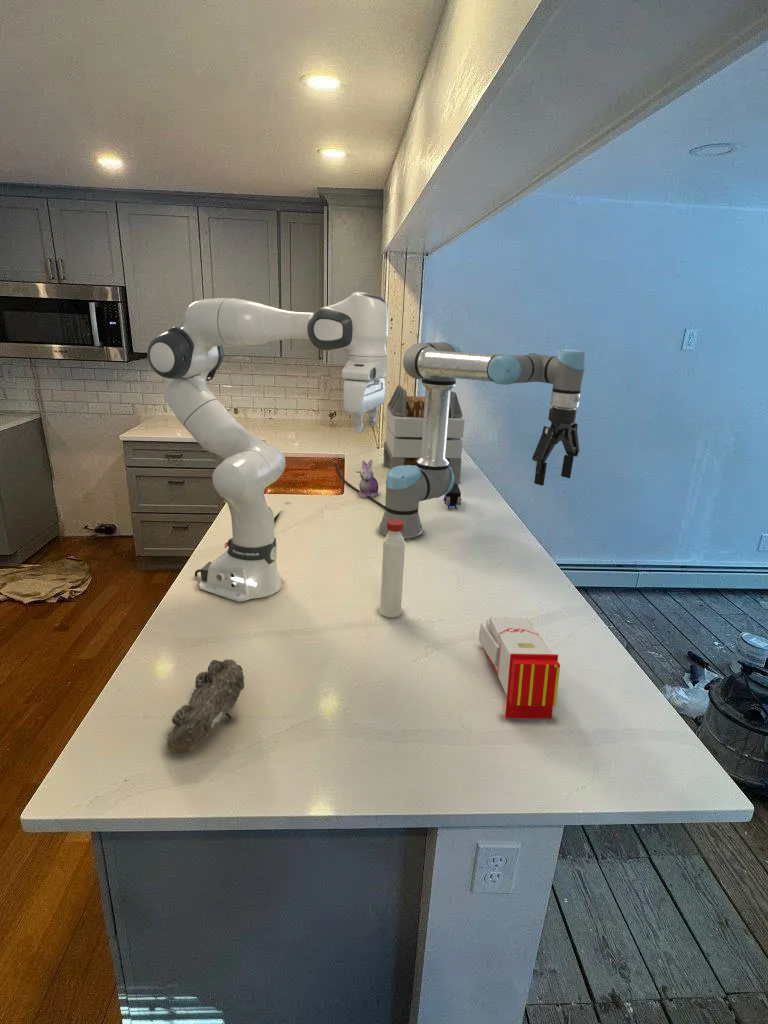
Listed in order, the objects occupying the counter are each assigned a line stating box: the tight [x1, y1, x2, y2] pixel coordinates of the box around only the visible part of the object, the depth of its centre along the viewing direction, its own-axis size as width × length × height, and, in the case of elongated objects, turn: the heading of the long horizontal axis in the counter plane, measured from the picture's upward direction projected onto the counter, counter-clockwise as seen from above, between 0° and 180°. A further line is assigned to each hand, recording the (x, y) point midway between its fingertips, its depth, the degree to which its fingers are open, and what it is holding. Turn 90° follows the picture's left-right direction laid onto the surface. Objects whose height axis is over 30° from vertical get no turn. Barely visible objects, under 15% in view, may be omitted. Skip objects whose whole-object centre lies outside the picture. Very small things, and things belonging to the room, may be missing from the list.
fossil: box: [166, 658, 245, 754], centre depth 106 cm, size 22×10×15 cm
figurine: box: [358, 459, 380, 499], centre depth 237 cm, size 9×10×15 cm
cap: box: [387, 520, 403, 532], centre depth 140 cm, size 4×4×2 cm
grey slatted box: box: [383, 384, 465, 484], centre depth 268 cm, size 34×33×41 cm
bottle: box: [379, 531, 406, 618], centre depth 144 cm, size 6×6×25 cm
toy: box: [478, 616, 561, 720], centre depth 122 cm, size 12×13×30 cm
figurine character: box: [442, 483, 462, 510], centre depth 230 cm, size 7×8×15 cm
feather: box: [274, 510, 282, 524], centre depth 212 cm, size 2×28×2 cm
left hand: (365, 428), depth 134 cm, fingers open, 8 cm apart
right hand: (552, 480), depth 165 cm, fingers open, 13 cm apart
